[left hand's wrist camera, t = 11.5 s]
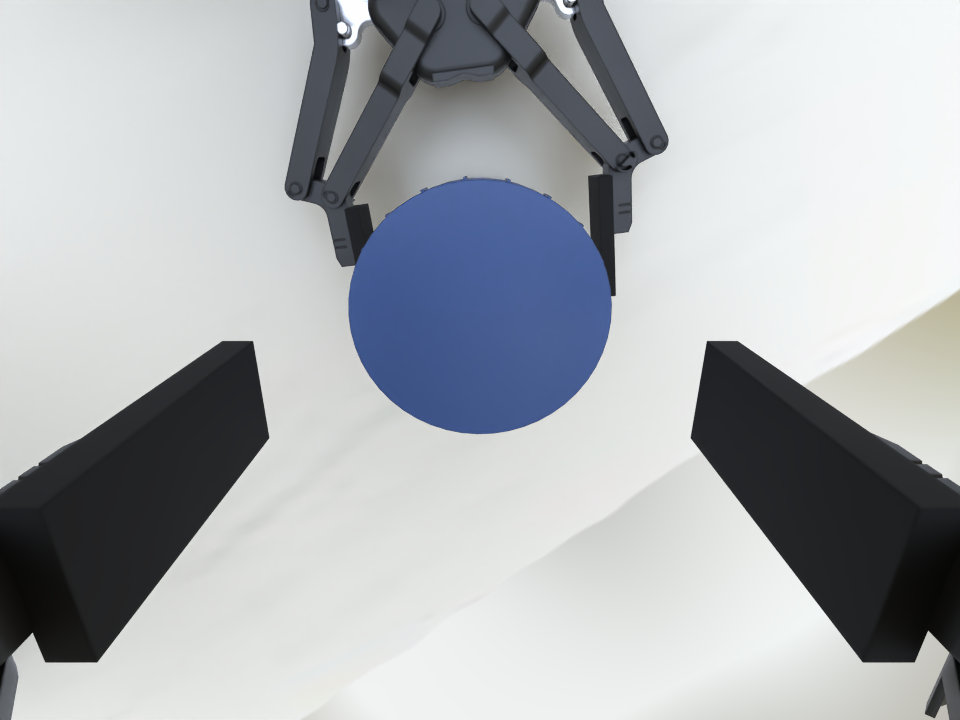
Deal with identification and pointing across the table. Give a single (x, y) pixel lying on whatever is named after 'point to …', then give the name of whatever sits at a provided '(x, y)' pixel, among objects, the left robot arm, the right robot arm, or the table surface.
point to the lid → (480, 306)
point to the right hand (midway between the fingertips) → (490, 305)
